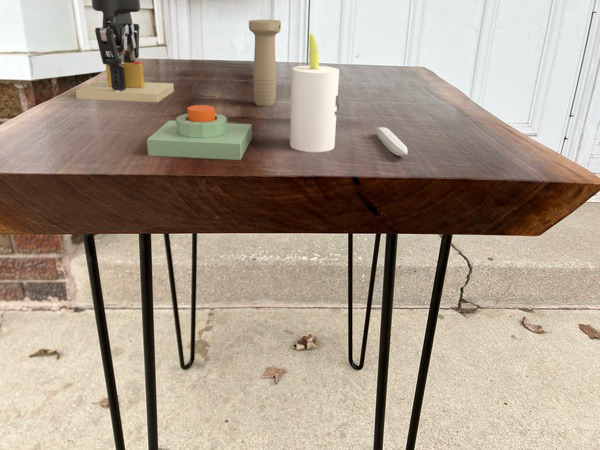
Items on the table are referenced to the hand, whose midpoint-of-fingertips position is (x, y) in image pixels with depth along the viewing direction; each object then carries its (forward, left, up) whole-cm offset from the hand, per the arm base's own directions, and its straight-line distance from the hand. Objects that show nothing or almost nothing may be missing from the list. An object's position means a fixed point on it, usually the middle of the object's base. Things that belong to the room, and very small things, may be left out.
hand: (124, 87), depth 92 cm
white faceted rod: (+45, -19, -3) cm, 49 cm away
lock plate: (0, +1, -3) cm, 3 cm away
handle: (+25, -2, -3) cm, 25 cm away
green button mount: (+19, -23, -3) cm, 30 cm away
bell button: (+19, -23, 0) cm, 30 cm away
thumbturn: (0, +1, 0) cm, 1 cm away
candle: (+34, -20, -3) cm, 39 cm away
